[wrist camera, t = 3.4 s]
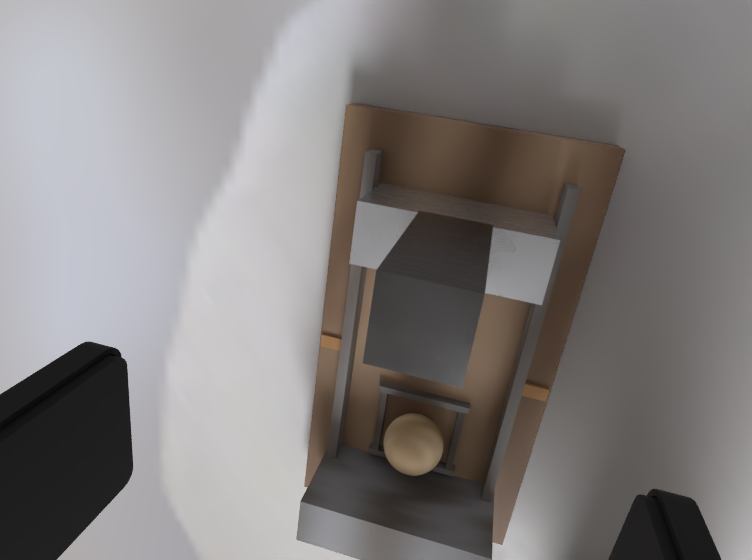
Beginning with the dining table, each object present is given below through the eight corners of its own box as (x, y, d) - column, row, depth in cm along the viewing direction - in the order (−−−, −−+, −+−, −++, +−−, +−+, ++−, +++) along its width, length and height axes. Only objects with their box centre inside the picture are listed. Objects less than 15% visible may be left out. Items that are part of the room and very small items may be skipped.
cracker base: (617, 145, 27) (654, 167, 20) (502, 522, 37) (500, 623, 30) (356, 103, 29) (308, 109, 22) (313, 467, 39) (271, 550, 32)
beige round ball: (451, 410, 32) (444, 446, 29) (441, 456, 34) (433, 496, 30) (394, 395, 33) (382, 429, 30) (386, 441, 34) (373, 479, 31)
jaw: (552, 213, 26) (586, 315, 14) (536, 273, 27) (555, 411, 16) (380, 181, 27) (287, 250, 16) (372, 239, 29) (279, 342, 17)
